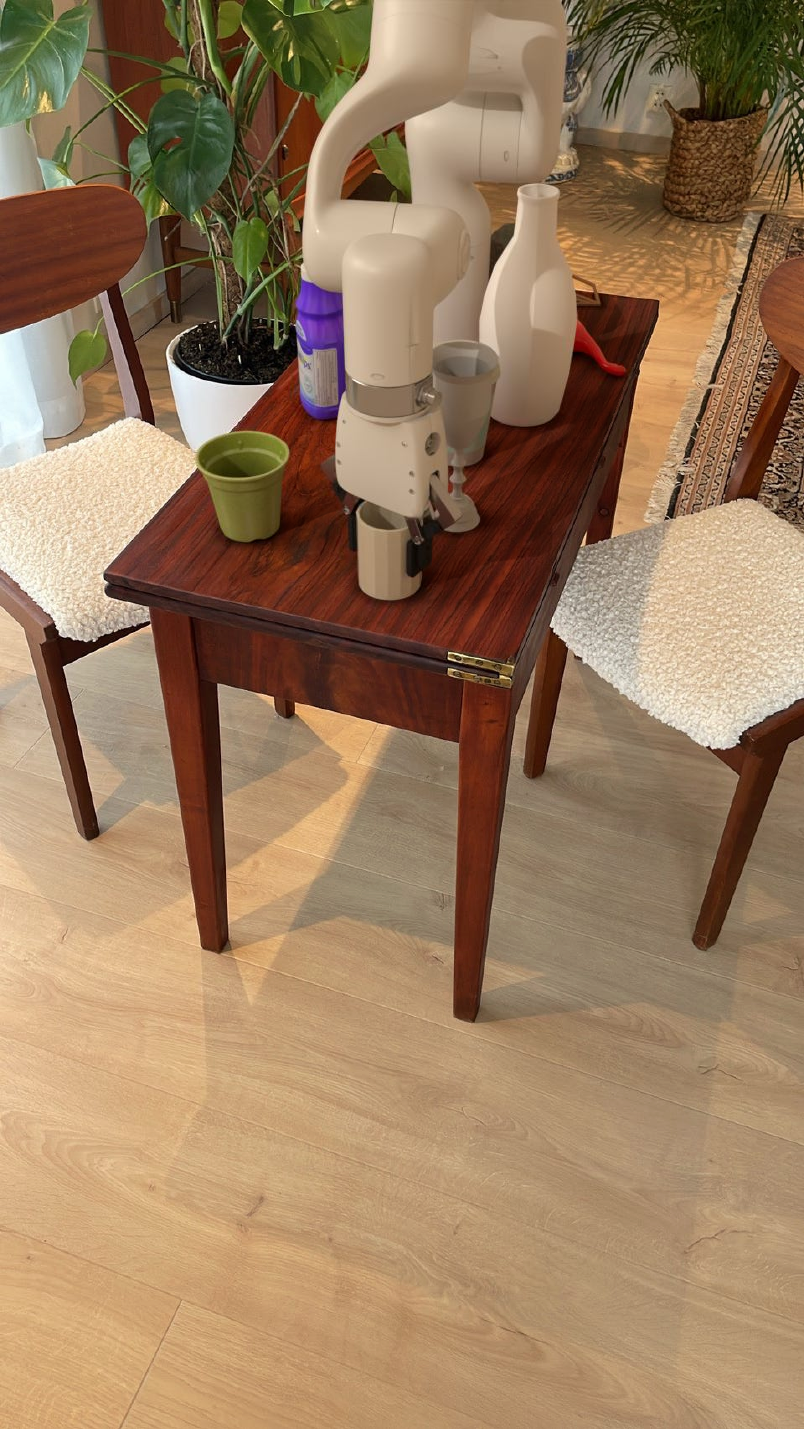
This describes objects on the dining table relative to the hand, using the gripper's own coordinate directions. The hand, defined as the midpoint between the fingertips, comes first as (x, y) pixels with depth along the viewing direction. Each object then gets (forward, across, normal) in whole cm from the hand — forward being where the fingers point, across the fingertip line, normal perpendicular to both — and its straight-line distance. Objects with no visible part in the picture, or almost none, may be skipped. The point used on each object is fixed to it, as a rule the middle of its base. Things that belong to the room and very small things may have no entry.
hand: (389, 556), depth 112 cm
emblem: (+3, +21, -69) cm, 72 cm away
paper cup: (+3, 0, 0) cm, 3 cm away
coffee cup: (+3, +8, -24) cm, 26 cm away
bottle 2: (+3, +8, -37) cm, 38 cm away
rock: (-2, +21, -53) cm, 57 cm away
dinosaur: (+1, +15, -57) cm, 59 cm away
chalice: (+3, +1, -13) cm, 13 cm away
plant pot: (+3, +17, +1) cm, 18 cm away
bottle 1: (+3, +27, -23) cm, 36 cm away
